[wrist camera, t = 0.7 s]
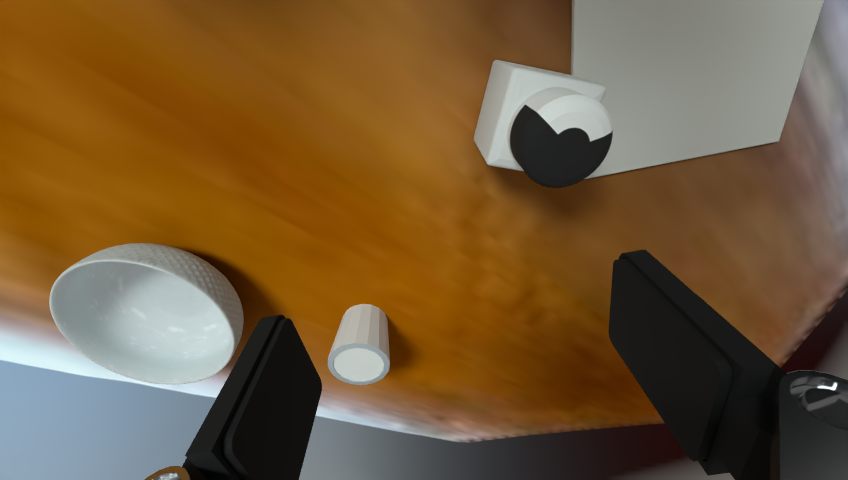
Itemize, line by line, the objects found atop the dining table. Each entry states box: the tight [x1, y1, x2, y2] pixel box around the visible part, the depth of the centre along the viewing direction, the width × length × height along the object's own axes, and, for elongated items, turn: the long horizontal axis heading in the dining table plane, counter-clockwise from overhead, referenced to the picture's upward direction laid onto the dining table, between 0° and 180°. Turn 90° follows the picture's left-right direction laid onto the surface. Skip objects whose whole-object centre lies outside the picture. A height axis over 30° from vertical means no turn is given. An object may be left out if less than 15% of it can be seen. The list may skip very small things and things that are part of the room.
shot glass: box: [328, 304, 390, 385], centre depth 43 cm, size 7×7×7 cm
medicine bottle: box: [474, 60, 613, 188], centre depth 28 cm, size 7×7×12 cm
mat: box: [571, 0, 824, 179], centre depth 32 cm, size 16×20×1 cm
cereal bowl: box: [49, 243, 244, 384], centre depth 39 cm, size 17×17×7 cm
